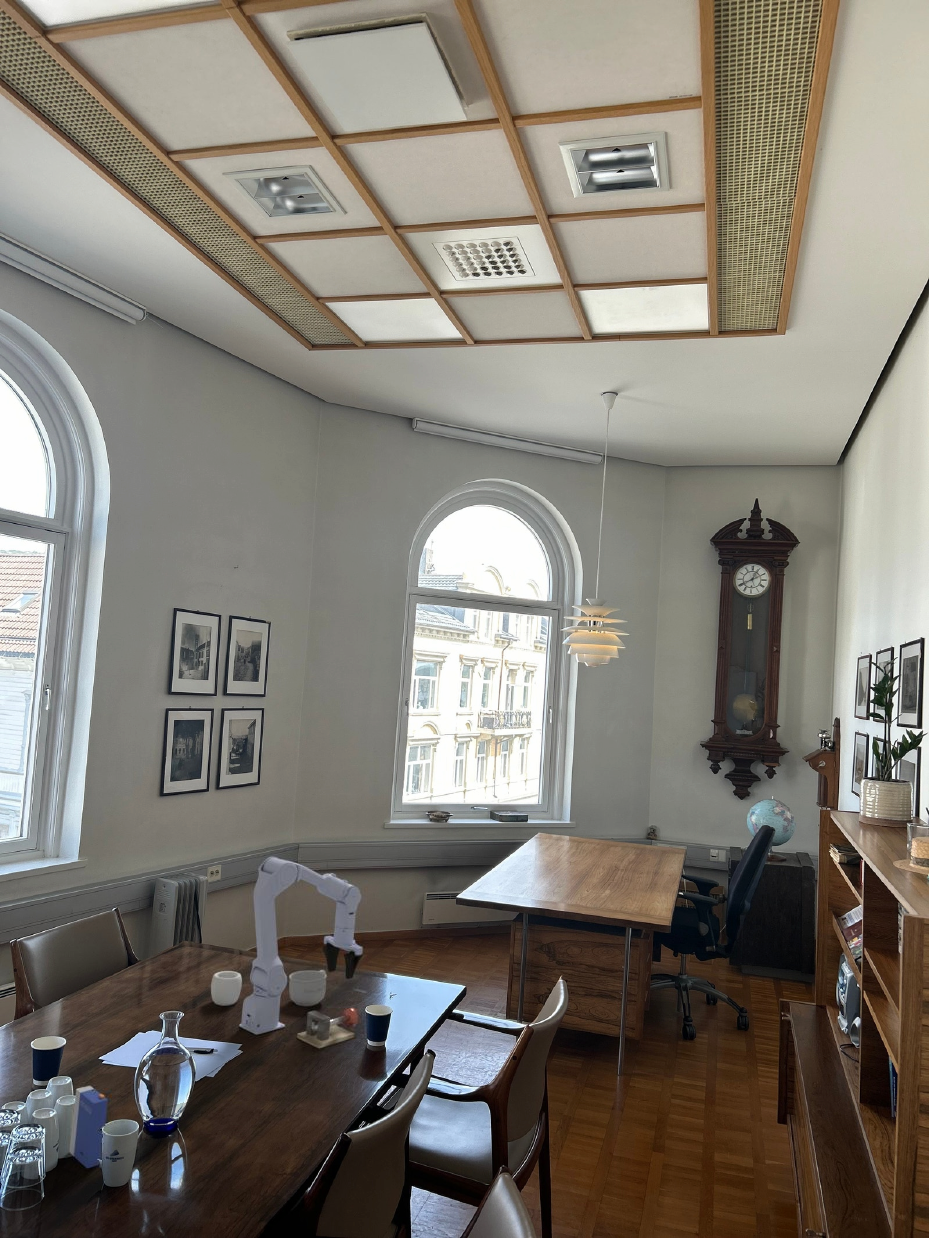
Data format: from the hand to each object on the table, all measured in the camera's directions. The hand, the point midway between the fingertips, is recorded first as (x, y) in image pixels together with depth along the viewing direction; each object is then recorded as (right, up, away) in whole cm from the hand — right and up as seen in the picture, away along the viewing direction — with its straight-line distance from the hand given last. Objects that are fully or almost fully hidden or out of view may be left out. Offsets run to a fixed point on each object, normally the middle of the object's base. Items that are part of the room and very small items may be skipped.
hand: (340, 974), depth 259 cm
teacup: (-10, -10, +5) cm, 15 cm away
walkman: (-36, 0, -89) cm, 96 cm away
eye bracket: (-1, -8, -23) cm, 24 cm away
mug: (-33, -8, 0) cm, 34 cm away
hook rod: (+1, -7, -20) cm, 21 cm away
